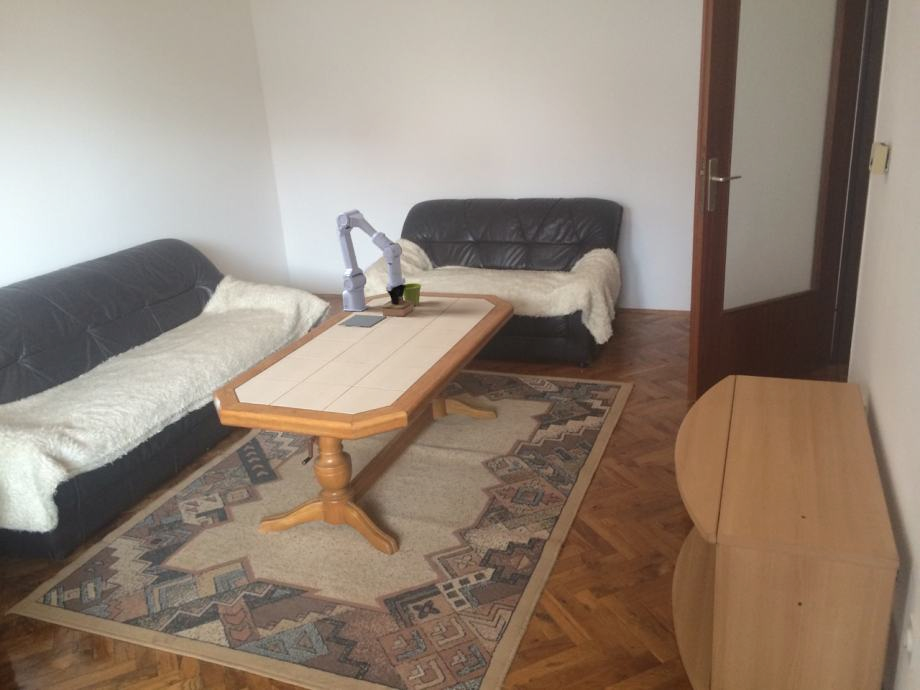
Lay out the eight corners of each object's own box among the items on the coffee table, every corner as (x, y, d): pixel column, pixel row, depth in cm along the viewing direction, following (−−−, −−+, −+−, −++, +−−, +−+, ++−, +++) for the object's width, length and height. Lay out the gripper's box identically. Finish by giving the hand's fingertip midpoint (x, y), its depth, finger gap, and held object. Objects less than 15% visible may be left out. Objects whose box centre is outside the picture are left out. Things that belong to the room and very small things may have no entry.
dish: (383, 315, 324) (382, 308, 323) (393, 309, 333) (392, 301, 332) (403, 317, 320) (403, 309, 319) (413, 310, 329) (413, 302, 328)
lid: (380, 308, 323) (379, 300, 322) (392, 301, 332) (391, 293, 331) (403, 309, 319) (402, 301, 317) (414, 302, 328) (414, 294, 327)
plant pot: (427, 302, 340) (425, 284, 337) (414, 308, 333) (413, 289, 330) (410, 300, 345) (408, 282, 342) (398, 306, 337) (396, 287, 335)
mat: (338, 325, 315) (338, 324, 314) (356, 315, 328) (356, 314, 327) (369, 327, 309) (369, 326, 309) (386, 317, 322) (386, 316, 322)
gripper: (395, 276, 313) (398, 307, 317) (410, 268, 326) (413, 298, 330) (380, 276, 316) (383, 307, 320) (395, 268, 328) (398, 298, 333)
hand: (397, 302), depth 325 cm, fingers open, 3 cm apart
